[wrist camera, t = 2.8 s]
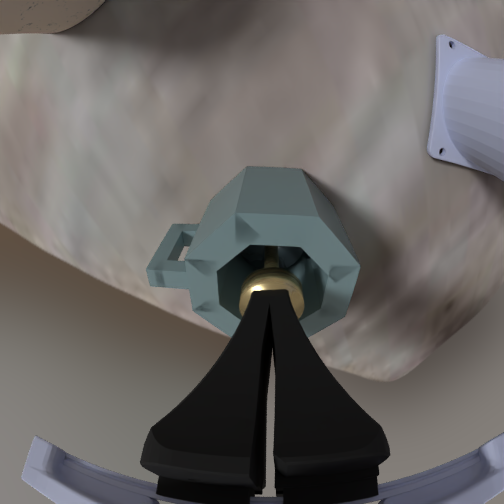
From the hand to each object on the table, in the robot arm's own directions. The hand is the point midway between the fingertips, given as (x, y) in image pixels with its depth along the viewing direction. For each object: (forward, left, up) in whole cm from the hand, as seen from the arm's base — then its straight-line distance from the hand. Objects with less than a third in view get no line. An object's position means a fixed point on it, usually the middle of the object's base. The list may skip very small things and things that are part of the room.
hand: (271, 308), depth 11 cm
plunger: (0, 0, -5) cm, 5 cm away
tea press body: (+1, 0, -7) cm, 7 cm away
